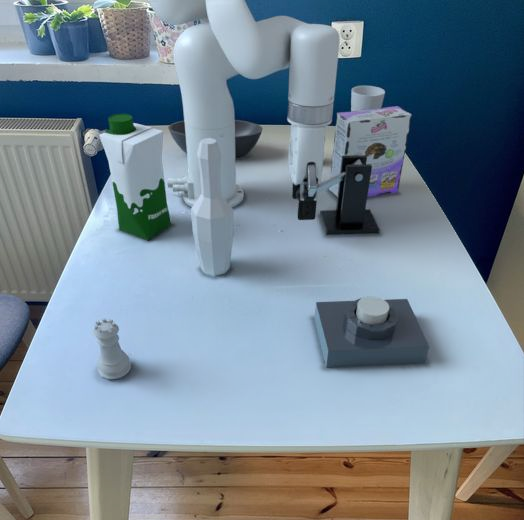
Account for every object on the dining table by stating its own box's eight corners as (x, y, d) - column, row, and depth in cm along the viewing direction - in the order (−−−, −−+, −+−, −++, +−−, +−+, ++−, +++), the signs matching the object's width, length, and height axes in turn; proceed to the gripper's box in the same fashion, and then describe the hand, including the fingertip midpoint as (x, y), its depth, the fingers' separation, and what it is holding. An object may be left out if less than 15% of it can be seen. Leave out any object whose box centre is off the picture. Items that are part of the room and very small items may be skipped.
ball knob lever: (301, 209, 100) (294, 195, 98) (299, 201, 102) (292, 187, 100) (367, 178, 97) (362, 163, 95) (363, 171, 99) (358, 155, 97)
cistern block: (326, 368, 75) (329, 340, 71) (314, 318, 83) (316, 292, 79) (424, 363, 76) (432, 336, 72) (403, 315, 84) (409, 288, 80)
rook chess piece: (100, 359, 75) (89, 314, 70) (133, 358, 76) (124, 313, 70) (96, 382, 72) (83, 336, 67) (130, 380, 72) (120, 335, 67)
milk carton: (143, 212, 107) (127, 107, 94) (179, 224, 104) (168, 117, 90) (112, 231, 102) (91, 122, 88) (148, 244, 98) (132, 133, 85)
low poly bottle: (217, 255, 96) (210, 129, 81) (241, 269, 93) (239, 141, 78) (189, 269, 93) (177, 140, 78) (213, 284, 89) (205, 153, 74)
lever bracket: (326, 236, 101) (333, 170, 93) (319, 216, 107) (325, 152, 99) (378, 235, 102) (390, 169, 94) (368, 214, 108) (379, 151, 99)
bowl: (261, 165, 125) (261, 138, 121) (166, 163, 125) (164, 136, 121) (263, 145, 134) (263, 120, 130) (175, 143, 134) (172, 117, 130)
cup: (376, 148, 134) (384, 97, 126) (344, 145, 135) (350, 94, 127) (377, 136, 140) (385, 87, 132) (347, 133, 141) (352, 84, 133)
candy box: (385, 182, 119) (398, 104, 108) (398, 193, 115) (413, 114, 104) (327, 190, 116) (335, 110, 105) (339, 202, 112) (348, 121, 101)
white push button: (359, 325, 74) (361, 316, 73) (353, 306, 78) (354, 296, 76) (390, 324, 75) (393, 314, 73) (383, 305, 78) (385, 295, 77)
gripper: (282, 95, 96) (278, 188, 108) (294, 130, 83) (288, 232, 95) (323, 94, 97) (315, 187, 108) (342, 129, 84) (330, 231, 95)
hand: (303, 207), depth 101 cm, fingers open, 7 cm apart
